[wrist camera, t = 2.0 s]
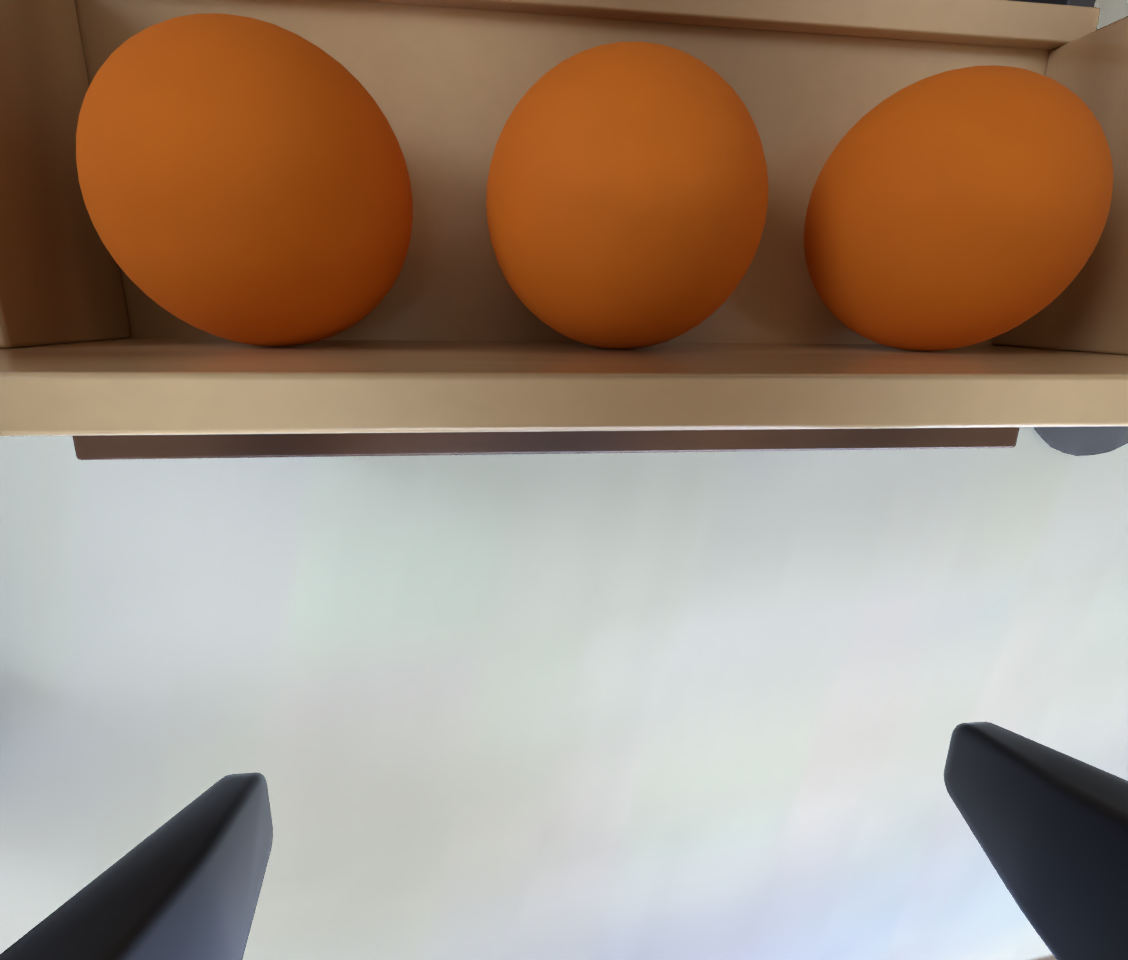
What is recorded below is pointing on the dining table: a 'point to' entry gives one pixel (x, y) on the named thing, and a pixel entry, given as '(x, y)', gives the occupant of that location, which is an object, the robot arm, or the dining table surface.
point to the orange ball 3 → (958, 208)
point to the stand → (531, 442)
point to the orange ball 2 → (627, 195)
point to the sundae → (1084, 438)
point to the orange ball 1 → (244, 179)
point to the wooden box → (468, 262)
